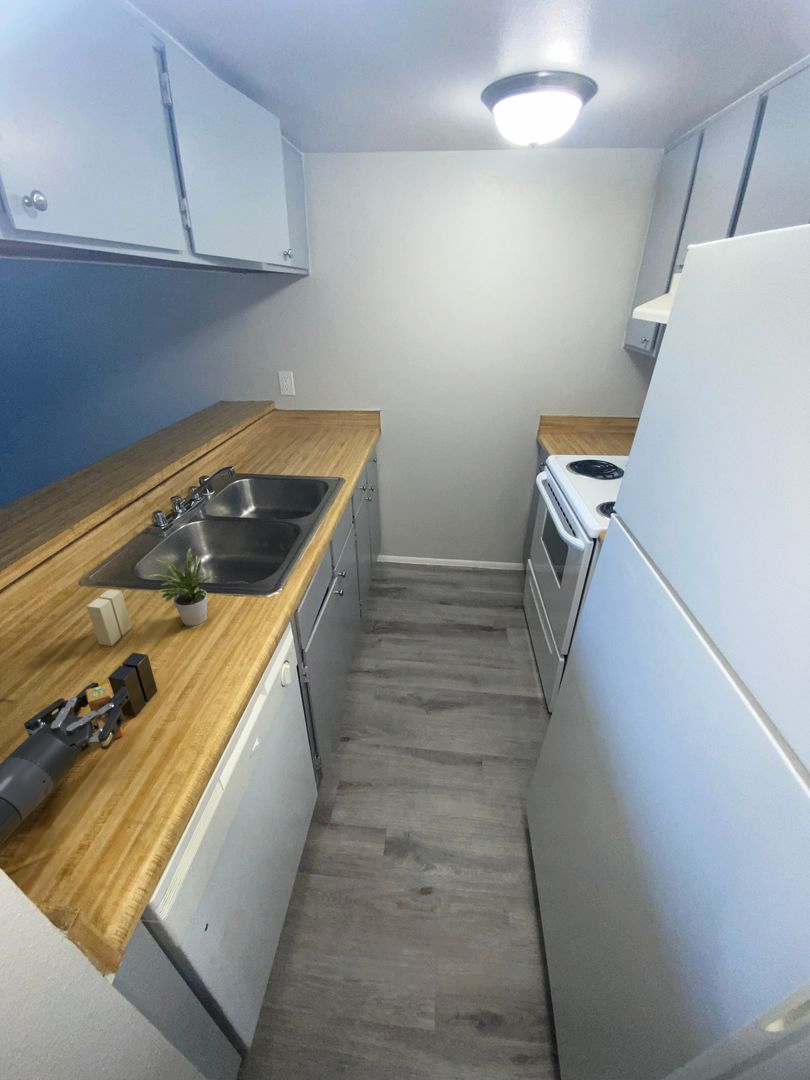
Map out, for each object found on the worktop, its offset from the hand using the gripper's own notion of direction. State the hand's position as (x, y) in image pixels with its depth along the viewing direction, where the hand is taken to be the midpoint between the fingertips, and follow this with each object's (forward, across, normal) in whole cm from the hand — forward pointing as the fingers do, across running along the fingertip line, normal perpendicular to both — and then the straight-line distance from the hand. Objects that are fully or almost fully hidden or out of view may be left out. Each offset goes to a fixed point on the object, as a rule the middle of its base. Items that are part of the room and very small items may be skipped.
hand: (111, 688), depth 80 cm
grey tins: (+5, 0, +8) cm, 9 cm away
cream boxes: (+21, +17, +8) cm, 28 cm away
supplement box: (-3, 0, +8) cm, 9 cm away
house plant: (+31, +5, +8) cm, 32 cm away
